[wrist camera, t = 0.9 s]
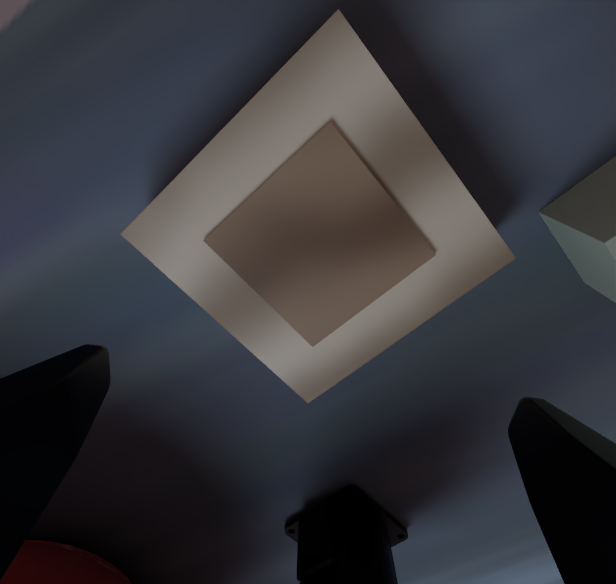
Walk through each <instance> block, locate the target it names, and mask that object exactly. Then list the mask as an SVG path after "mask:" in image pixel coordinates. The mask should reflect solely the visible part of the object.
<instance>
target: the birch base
mask: <svg viewBox="0 0 616 584" xmlns="http://www.w3.org/2000/svg"><path fill="white" fill-rule="evenodd" d="M121 235H122V236H123V237H124V238H125V239H126V240H128V241H129V242H130V243H131V244H132V245H133V246H134V247H135V248H136V249H138V250H139V251H140V252H141V253H142V254H143V255H144V256H145V257H146V258H147V259H149V260H150V261H151V262H152V263H153V264H154V265H155V266H156V267H157V268H159V269H160V270H161V271H162V272H163V273H164V274H165V275H166V276H167V277H169V278H170V279H171V280H172V281H173V282H174V283H175V284H176V285H177V286H179V287H180V288H181V289H182V290H183V291H184V292H185V293H186V294H187V295H188V296H190V297H191V298H192V299H193V300H194V301H195V302H196V303H197V304H198V305H200V306H201V307H202V308H203V309H204V310H205V311H206V312H207V313H208V314H210V315H211V316H212V317H213V318H214V319H215V320H216V321H217V322H218V323H219V324H221V325H222V326H223V327H224V328H225V329H226V330H227V331H228V332H229V333H231V334H232V335H233V336H234V337H235V338H236V339H237V340H238V341H239V342H241V343H242V344H243V345H244V346H245V347H246V348H247V349H248V350H249V351H251V352H252V353H253V354H254V355H255V356H256V357H257V358H258V359H259V360H260V361H262V362H263V363H264V364H265V365H266V366H267V367H268V368H269V369H270V370H272V371H273V372H274V373H275V374H276V375H277V376H278V377H279V378H280V379H282V380H283V381H284V382H285V383H286V384H287V385H288V386H289V387H290V388H292V389H293V390H294V391H295V392H296V393H297V394H298V395H299V396H300V397H301V398H303V399H304V400H305V401H306V402H307V403H309V402H311V401H312V400H314V399H315V398H317V397H318V396H319V395H321V394H322V393H324V392H325V391H327V390H328V389H329V388H331V387H332V386H334V385H335V384H337V383H338V382H339V381H341V380H342V379H344V378H345V377H347V376H348V375H350V374H351V373H352V372H354V371H355V370H357V369H358V368H360V367H361V366H362V365H364V364H365V363H367V362H368V361H370V360H371V359H372V358H374V357H375V356H377V355H378V354H380V353H381V352H382V351H384V350H385V349H387V348H388V347H390V346H391V345H392V344H394V343H395V342H397V341H398V340H400V339H401V338H402V337H404V336H405V335H407V334H408V333H410V332H411V331H412V330H414V329H415V328H417V327H418V326H420V325H421V324H422V323H424V322H425V321H427V320H428V319H430V318H431V317H432V316H434V315H435V314H437V313H438V312H440V311H441V310H442V309H444V308H445V307H447V306H448V305H450V304H451V303H453V302H454V301H455V300H457V299H458V298H460V297H461V296H463V295H464V294H465V293H467V292H468V291H470V290H471V289H473V288H474V287H475V286H477V285H478V284H480V283H481V282H483V281H484V280H485V279H487V278H488V277H490V276H491V275H493V274H494V273H495V272H497V271H498V270H500V269H501V268H503V267H504V266H505V265H507V264H508V263H510V262H511V261H513V260H514V259H515V258H516V257H515V256H514V255H513V253H512V252H511V250H510V249H509V248H508V246H507V245H506V243H505V242H504V241H503V239H502V238H501V236H500V235H499V234H498V232H497V231H496V229H495V228H494V227H493V225H492V224H491V222H490V221H489V220H488V218H487V217H486V215H485V214H484V213H483V211H482V210H481V208H480V207H479V206H478V204H477V203H476V201H475V200H474V199H473V197H472V196H471V194H470V193H469V191H468V190H467V189H466V187H465V186H464V184H463V183H462V182H461V180H460V179H459V177H458V176H457V175H456V173H455V172H454V170H453V169H452V168H451V166H450V165H449V163H448V162H447V161H446V159H445V158H444V156H443V155H442V154H441V152H440V151H439V149H438V148H437V147H436V145H435V144H434V142H433V141H432V140H431V138H430V137H429V135H428V134H427V133H426V131H425V130H424V128H423V127H422V125H421V124H420V123H419V121H418V120H417V118H416V117H415V116H414V114H413V113H412V111H411V110H410V109H409V107H408V106H407V104H406V103H405V102H404V100H403V99H402V97H401V96H400V95H399V93H398V92H397V90H396V89H395V88H394V86H393V85H392V83H391V82H390V81H389V79H388V78H387V76H386V75H385V74H384V72H383V71H382V69H381V68H380V67H379V65H378V64H377V62H376V61H375V60H374V58H373V57H372V55H371V54H370V52H369V51H368V50H367V48H366V47H365V45H364V44H363V43H362V41H361V40H360V38H359V37H358V36H357V34H356V33H355V31H354V30H353V29H352V27H351V26H350V24H349V23H348V22H347V20H346V19H345V17H344V16H343V15H342V13H341V12H340V10H339V9H338V10H337V11H336V12H335V13H334V14H333V15H332V16H331V17H330V18H329V19H328V20H327V21H326V22H325V24H324V25H323V26H322V27H321V28H320V29H319V30H318V31H317V32H316V33H315V34H314V35H313V36H312V37H311V38H310V39H309V40H308V41H307V42H306V43H305V44H304V45H303V46H302V47H301V48H300V49H299V50H298V51H297V52H296V53H295V55H294V56H293V57H292V58H291V59H290V60H289V61H288V62H287V63H286V64H285V65H284V66H283V67H282V68H281V69H280V70H279V71H278V72H277V73H276V74H275V75H274V76H273V77H272V78H271V79H270V80H269V81H268V82H267V83H266V84H265V86H264V87H263V88H262V89H261V90H260V91H259V92H258V93H257V94H256V95H255V96H254V97H253V98H252V99H251V100H250V101H249V102H248V103H247V104H246V105H245V106H244V107H243V108H242V109H241V110H240V111H239V112H238V113H237V114H236V115H235V117H234V118H233V119H232V120H231V121H230V122H229V123H228V124H227V125H226V126H225V127H224V128H223V129H222V130H221V131H220V132H219V133H218V134H217V135H216V136H215V137H214V138H213V139H212V140H211V141H210V142H209V143H208V144H207V145H206V146H205V148H204V149H203V150H202V151H201V152H200V153H199V154H198V155H197V156H196V157H195V158H194V159H193V160H192V161H191V162H190V163H189V164H188V165H187V166H186V167H185V168H184V169H183V170H182V171H181V172H180V173H179V174H178V175H177V176H176V177H175V179H174V180H173V181H172V182H171V183H170V184H169V185H168V186H167V187H166V188H165V189H164V190H163V191H162V192H161V193H160V194H159V195H158V196H157V197H156V198H155V199H154V200H153V201H152V202H151V203H150V204H149V205H148V206H147V207H146V208H145V210H144V211H143V212H142V213H141V214H140V215H139V216H138V217H137V218H136V219H135V220H134V221H133V222H132V223H131V224H130V225H129V226H128V227H127V228H126V229H125V230H124V231H123V232H122V233H121Z"/></svg>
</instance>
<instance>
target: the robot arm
mask: <svg viewBox="0 0 616 584" xmlns="http://www.w3.org/2000/svg"><path fill="white" fill-rule="evenodd" d="M109 386H110V365H109V353H108V350H107V348H106V347H104V346H98V345H90V344H86V345H83V346H80V347H78V348H75V349H73V350H70V351H68V352H65V353H63V354H60V355H58V356H55V357H53V358H50V359H48V360H45V361H43V362H40V363H38V364H36V365H33V366H31V367H28V368H26V369H23V370H21V371H18V372H16V373H13V374H11V375H8V376H6V377H3V378H1V379H0V581H1V579H2V578H3V576H4V574H5V573H6V571H7V569H8V568H9V566H10V565H11V563H12V561H13V560H14V558H15V556H16V555H17V553H18V551H19V550H20V548H21V547H22V545H23V543H24V542H25V540H26V538H27V537H28V535H29V534H30V532H31V530H32V529H33V527H34V525H35V524H36V522H37V520H38V519H39V517H40V516H41V514H42V512H43V511H44V509H45V507H46V506H47V504H48V502H49V501H50V499H51V498H52V496H53V494H54V493H55V491H56V489H57V488H58V486H59V485H60V483H61V481H62V480H63V478H64V476H65V475H66V473H67V471H68V470H69V468H70V467H71V465H72V463H73V461H74V460H75V458H76V456H77V455H78V453H79V451H80V449H81V447H82V445H83V443H84V440H85V438H86V436H87V434H88V432H89V430H90V428H91V426H92V423H93V421H94V419H95V417H96V415H97V413H98V411H99V409H100V406H101V404H102V402H103V400H104V398H105V396H106V394H107V392H108V389H109ZM508 435H509V439H510V442H511V445H512V449H513V452H514V455H515V458H516V461H517V464H518V467H519V471H520V474H521V477H522V480H523V483H524V486H525V489H526V492H527V495H528V498H529V501H530V504H531V506H532V509H533V511H534V514H535V516H536V518H537V521H538V523H539V525H540V528H541V530H542V532H543V535H544V537H545V539H546V542H547V544H548V546H549V549H550V551H551V553H552V556H553V558H554V560H555V563H556V565H557V567H558V570H559V572H560V574H561V577H562V579H563V581H564V584H616V444H615V443H614V442H612V441H610V440H609V439H607V438H606V437H604V436H602V435H601V434H599V433H597V432H596V431H594V430H593V429H591V428H589V427H588V426H586V425H584V424H583V423H581V422H579V421H578V420H576V419H575V418H573V417H571V416H570V415H568V414H566V413H565V412H563V411H562V410H560V409H558V408H557V407H555V406H553V405H552V404H550V403H548V402H547V401H545V400H543V399H539V398H530V397H524V398H522V399H521V400H520V401H519V403H518V405H517V408H516V410H515V412H514V415H513V417H512V419H511V421H510V424H509V427H508ZM285 533H286V535H288V536H289V537H291V538H292V539H293V540H295V541H296V542H297V543H298V551H297V580H298V581H300V584H398V583H397V577H396V572H395V566H394V561H393V555H392V550H391V547H393V546H395V545H396V544H398V543H400V542H402V541H404V540H406V539H407V538H408V533H407V529H406V528H405V527H404V526H403V525H401V524H400V523H399V522H398V521H397V520H396V519H394V518H393V517H392V516H391V515H390V514H389V513H387V512H386V511H385V510H384V509H383V508H382V507H380V506H379V505H378V504H377V503H376V502H375V501H373V500H372V499H371V498H370V497H369V496H368V495H366V494H365V493H364V492H363V491H362V490H360V489H359V488H358V487H357V486H354V485H350V486H347V487H345V488H344V489H342V490H340V491H339V492H337V493H335V494H334V495H332V496H330V497H329V498H327V499H325V500H324V501H322V502H320V503H319V504H317V505H315V506H314V507H312V508H310V509H309V510H307V511H305V512H304V513H302V514H300V515H299V516H297V517H295V518H294V519H292V520H290V521H289V522H287V523H286V524H285Z"/></svg>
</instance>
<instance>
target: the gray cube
mask: <svg viewBox="0 0 616 584" xmlns="http://www.w3.org/2000/svg"><path fill="white" fill-rule="evenodd" d="M538 213H539V214H540V216H541V217H542V219H543V220H544V222H545V223H546V225H547V226H548V228H549V229H550V231H551V232H552V234H553V235H554V237H555V239H556V240H557V242H558V243H559V245H560V246H561V248H562V249H563V251H564V252H565V254H566V255H567V257H568V258H569V260H570V261H571V263H572V264H573V266H574V268H575V269H576V271H577V272H578V274H579V275H580V277H581V278H582V280H583V281H584V283H586V284H587V285H589V286H590V287H592V288H593V289H595V290H596V291H598V292H599V293H601V294H603V295H604V296H606V297H607V298H609V299H610V300H612V301H613V302H615V303H616V156H615V157H614V158H612V159H611V160H610V161H608V162H607V163H605V164H604V165H603V166H601V167H600V168H598V169H597V170H596V171H594V172H593V173H592V174H590V175H589V176H587V177H586V178H585V179H583V180H582V181H580V182H579V183H578V184H576V185H575V186H574V187H572V188H571V189H569V190H568V191H567V192H565V193H564V194H562V195H561V196H560V197H558V198H557V199H556V200H554V201H553V202H551V203H550V204H549V205H547V206H546V207H544V208H543V209H542V210H540V211H539V212H538Z"/></svg>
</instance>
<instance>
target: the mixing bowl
mask: <svg viewBox="0 0 616 584" xmlns="http://www.w3.org/2000/svg"><path fill="white" fill-rule="evenodd" d="M0 584H132V583H131V582H130V580H129V579H128V578H127V577H126V576H125V575H124V574H123V573H122V571H121V570H119V569H118V568H116V567H115V566H114V565H112V564H111V563H109V562H108V561H106V560H105V559H103V558H101V557H99V556H97V555H95V554H93V553H91V552H88V551H86V550H83V549H80V548H77V547H74V546H71V545H66V544H61V543H56V542H49V541H39V540H25V542H24V543H23V545H22V547H21V548H20V550H19V551H18V553H17V555H16V556H15V558H14V560H13V561H12V563H11V565H10V566H9V568H8V569H7V571H6V573H5V574H4V576H3V578H2V579H1V581H0Z"/></svg>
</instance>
